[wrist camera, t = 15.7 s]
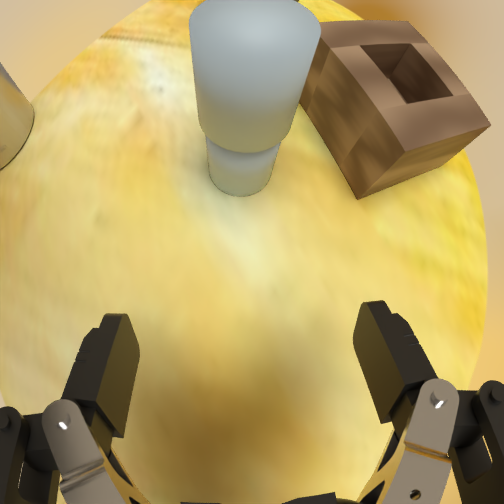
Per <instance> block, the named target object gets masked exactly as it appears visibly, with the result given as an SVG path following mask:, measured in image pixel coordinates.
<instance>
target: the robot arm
mask: <svg viewBox="0 0 504 504" xmlns="http://www.w3.org/2000/svg"><path fill="white" fill-rule="evenodd" d="M33 119H34V111H33V108H32V105H31V104H30V103H29V102H28V100H27V99H26V98H25V96H24V95H23V94H22V92H21V91H20V90H19V88H18V87H17V85H16V84H15V82H14V81H13V80H12V78H11V77H10V76H9V74H8V73H7V72H6V70H5V69H4V67H3V66H2V64H1V63H0V169H1V168H2V167H4V166H5V165H6V164H7V163H8V162H9V161H10V160H11V159H12V158H13V157H14V156H15V155H16V154H17V152H18V151H19V150H20V149H21V147H22V145H23V144H24V142H25V141H26V139H27V137H28V135H29V133H30V130H31V127H32V124H33ZM353 345H354V349H355V352H356V355H357V358H358V360H359V363H360V366H361V368H362V371H363V374H364V377H365V379H366V382H367V385H368V388H369V391H370V393H371V396H372V399H373V402H374V405H375V408H376V411H377V414H378V417H379V420H380V423H381V424H383V423H387V422H391V421H392V424H393V426H394V428H393V430H392V432H391V434H390V437H389V439H388V442H387V444H386V446H385V449H384V451H383V453H382V456H381V458H380V460H379V462H378V464H377V467H376V469H375V471H374V473H373V475H372V476H371V478H370V480H369V481H368V482H367V484H366V485H365V487H364V489H363V490H362V492H361V494H360V496H359V497H358V499H357V501H352V500H348V499H341V498H336V495H335V492H333V493H327V494H322V495H316V496H309V497H302V498H297V499H294V500H291V501H288V502H285V503H282V504H439V503H440V500H441V498H442V495H443V492H444V489H445V486H446V483H447V479H448V476H449V473H450V470H451V465H452V469H453V472H454V476H455V479H456V483H457V486H458V490H459V493H460V497H461V501H462V504H504V384H502V383H500V382H498V381H493V380H490V381H487V382H485V383H484V384H483V385H482V386H481V388H480V389H479V390H478V391H466V390H456V388H455V387H454V386H453V385H452V384H451V383H450V382H448V381H446V380H443V379H439V378H438V377H437V375H436V373H435V371H434V369H433V367H432V365H431V364H430V362H429V360H428V358H427V356H426V354H425V352H424V350H423V349H422V347H421V345H419V341H418V339H417V338H416V336H414V332H413V331H412V329H411V327H410V325H409V323H408V322H407V321H406V320H405V319H403V318H402V317H401V316H400V315H399V314H398V313H394V314H392V313H391V311H390V309H389V308H388V306H387V304H386V303H385V301H383V300H380V301H371V302H363V303H362V304H361V307H360V310H359V314H358V318H357V322H356V326H355V329H354V333H353ZM139 358H140V350H139V344H138V341H137V339H136V336H135V333H134V330H133V328H132V325H131V322H130V319H129V317H128V315H127V314H109V313H107V314H105V315H104V317H103V319H102V322H101V324H100V327H99V328H93V329H92V330H91V331H90V332H89V333H88V334H87V335H86V336H85V337H84V339H83V341H82V344H81V346H80V349H79V352H78V354H77V356H76V359H75V362H74V364H73V367H72V369H71V372H70V375H69V378H68V380H67V383H66V386H65V389H64V392H63V395H62V397H61V399H60V400H57V401H54V402H52V403H51V404H50V405H48V406H47V408H46V409H45V410H44V412H43V413H39V414H32V415H24V416H22V415H21V414H20V413H19V412H18V411H17V410H16V409H15V408H13V407H9V406H7V407H2V408H0V504H56V501H57V493H58V486H60V490H61V492H62V495H63V497H64V499H65V501H66V503H67V504H150V503H149V501H148V500H147V499H146V498H145V497H144V496H143V494H142V493H141V492H140V491H139V490H138V488H137V487H136V485H135V484H134V482H133V481H132V479H131V478H130V476H129V475H128V473H127V472H126V470H125V468H124V467H123V465H122V463H121V462H120V460H119V458H118V457H117V455H116V453H115V452H114V450H113V448H112V447H111V443H112V437H118V438H124V432H125V426H126V421H127V416H128V410H129V405H130V400H131V395H132V391H133V386H134V381H135V377H136V372H137V368H138V363H139ZM483 435H484V438H485V440H486V443H487V446H488V449H489V452H490V454H491V457H492V462H491V459H490V456H489V454H488V451H487V448H486V446H485V443H484V440H483V438H482V436H483ZM447 453H448V456H449V457H448V456H447ZM22 464H23V467H22ZM21 468H22V472H21ZM60 473H61V475H62V479H63V480H62V481H61V482H60V483H59V479H60ZM20 474H21V477H20ZM19 479H20V482H19ZM18 485H19V488H18ZM181 504H220V503H190V502H181Z"/></svg>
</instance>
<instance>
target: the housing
mask: <svg viewBox="0 0 504 504" xmlns="http://www.w3.org/2000/svg"><path fill="white" fill-rule="evenodd" d="M319 24H320V27H321V35H320V38H319V41H318V44H317V47H316V51H315V54H314V57H313V60H312V63H311V66H310V69H309V72H308V75H307V78H306V81H305V84H304V87H303V90H302V94H301V97H300V100H299V102H300V104H301V105H302V107H303V108H304V110H305V112H306V113H307V115H308V116H309V118H310V119H311V121H312V122H313V124H314V126H315V127H316V129H317V130H318V132H319V134H320V135H321V137H322V139H323V140H324V142H325V144H326V145H327V147H328V149H329V150H330V152H331V154H332V155H333V157H334V159H335V160H336V162H337V164H338V166H339V167H340V169H341V171H342V173H343V174H344V176H345V178H346V180H347V182H348V183H349V185H350V187H351V189H352V191H353V193H354V194H355V196H356V198H357V200H359V199H361V198H363V197H366V196H368V195H371V194H373V193H376V192H378V191H381V190H383V189H386V188H388V187H390V186H393V185H395V184H398V183H400V182H403V181H405V180H408V179H410V178H413V177H415V176H418V175H420V174H423V173H425V172H428V171H430V170H433V169H435V168H438V167H440V166H442V165H444V164H445V163H446V162H447V161H449V160H450V159H451V158H452V157H453V156H455V155H456V154H457V153H458V152H460V151H461V150H462V149H463V148H464V147H466V146H467V145H468V144H469V143H471V142H472V141H473V140H474V139H475V138H476V137H478V136H479V135H480V134H481V133H483V132H484V131H485V130H486V129H487V128H488V127H490V126H491V124H490V122H489V121H488V119H487V118H486V116H485V115H484V113H483V111H482V110H481V109H480V107H479V106H478V104H477V103H476V101H475V100H474V98H473V97H472V96H471V94H470V93H469V91H468V90H467V89H466V87H464V85H463V83H462V82H461V81H460V80H459V78H458V77H457V76H456V74H455V73H454V72H453V71H452V69H451V68H450V67H449V66H448V65H447V63H446V62H445V61H444V60H443V59H442V57H441V56H440V55H439V54H438V53H437V52H436V51H435V49H434V48H433V47H432V46H431V45H430V44H429V43H428V42H427V41H426V40H425V38H424V37H423V36H422V35H421V34H420V33H419V32H418V31H417V30H416V29H415V28H414V27H413V26H412V25H411V24H410V23H409V22H407V21H386V20H356V21H333V22H319Z"/></svg>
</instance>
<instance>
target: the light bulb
mask: <svg viewBox="0 0 504 504" xmlns="http://www.w3.org/2000/svg"><path fill="white" fill-rule="evenodd" d="M189 30H190V41H191V52H192V62H193V72H194V81H195V90H196V100H197V108H198V117H199V123H200V126H201V128H202V130H203V132H204V133H205V135H206V145H207V155H208V164H209V173H210V177H211V179H212V181H213V183H214V184H215V185H216V186H217V188H219V189H220V190H221V191H223V192H224V193H227V194H229V195H232V196H249V195H252V194H255V193H257V192H259V191H260V190H261V189H263V188H264V187H265V186H266V184H267V183H268V181H269V179H270V176H271V173H272V170H273V166H274V163H275V160H276V156H277V153H278V149H279V146H280V143H281V141H282V140H283V139H284V138H285V137H286V135H287V134H288V132H289V130H290V127H291V124H292V121H293V118H294V115H295V112H296V109H297V106H298V103H299V100H300V97H301V94H302V90H303V87H304V84H305V81H306V78H307V75H308V72H309V69H310V66H311V63H312V60H313V57H314V54H315V51H316V47H317V44H318V41H319V38H320V35H321V27H320V24H319V21H318V20H317V18H316V17H315V16H314V14H313V13H312V12H311V11H310V10H308V9H307V8H306V7H304V6H303V5H301V4H300V3H298V2H296V1H294V0H206V1H204V2H203V3H201V4H200V5H199V6H198V7H196V9H195V10H194V11H193V12H192V14H191V16H190V19H189Z"/></svg>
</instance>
